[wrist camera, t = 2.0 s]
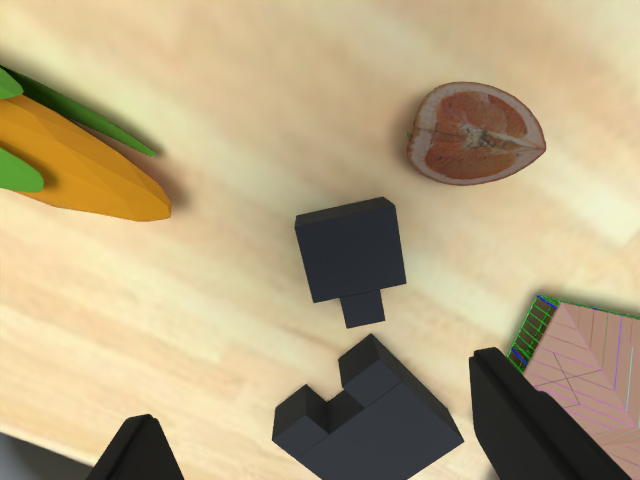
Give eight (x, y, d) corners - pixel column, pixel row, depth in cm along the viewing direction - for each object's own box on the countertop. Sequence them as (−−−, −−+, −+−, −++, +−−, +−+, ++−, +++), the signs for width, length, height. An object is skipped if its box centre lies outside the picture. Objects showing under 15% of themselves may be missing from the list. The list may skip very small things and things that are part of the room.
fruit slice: (385, 172, 24) (403, 179, 19) (406, 76, 22) (433, 58, 18) (487, 190, 25) (530, 201, 20) (517, 98, 23) (571, 87, 18)
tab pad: (383, 196, 25) (395, 204, 21) (398, 294, 27) (411, 315, 24) (296, 215, 25) (294, 226, 22) (319, 311, 28) (321, 334, 24)
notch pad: (371, 333, 28) (379, 358, 25) (448, 409, 31) (465, 441, 28) (275, 407, 30) (271, 440, 27) (355, 473, 33) (360, 510, 30)
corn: (-317, -63, 13) (163, 166, 16) (-89, 2, 20) (211, 152, 23) (-290, 112, 15) (124, 282, 18) (-95, 115, 22) (179, 237, 26)
